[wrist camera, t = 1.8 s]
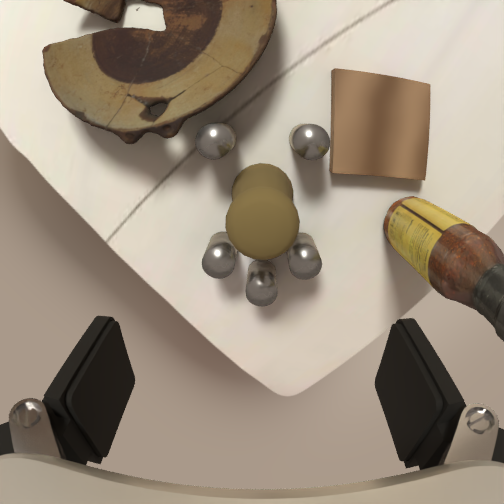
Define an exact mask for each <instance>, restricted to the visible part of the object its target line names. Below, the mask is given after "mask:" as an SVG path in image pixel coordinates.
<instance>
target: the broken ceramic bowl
mask: <svg viewBox="0 0 504 504" xmlns="http://www.w3.org/2000/svg"><path fill="white" fill-rule="evenodd" d="M64 1H65V2H68V3H70V4H72V5H75V6H79V7H80V8H83V9H84V10H88V11H90V12H92V13H96V14H98V15H100V16H101V17H103V18H105V19H108V20H110V21H113V22H116V23H118V22H119V20H120V18H121V15H122V12H123V9H124V6H125V0H64ZM143 1H145V2H149V3H155V4H158V5H161V6H162V7H163V15H164V20H165V25H166V29H165V30H164V31H152V30H149V29H141V28H140V29H139V28H133V27H132V28H115V29H109V30H104V31H99V32H96V33H92V34H87V35H84V36H81V37H79V38H72V39H68V40H65V41H63V42H58V43H53V44H49V45H48V46H46V47H44V49H43V50H42V53H43V58H44V63H43V66H44V70H45V75H46V78H47V80H48V82H49V85H50V87H51V90H52V92H53V93H54V95H55V97H56V98H57V99H58V100H59V101H60V102H61V104H62V106H63V107H65V108H66V109H67V110H68V111H69V112H70V113H72V114H73V115H75V117H77V118H79V119H81V120H82V121H84V122H87V123H89V124H91V126H95V127H98V128H101V129H104V130H106V131H110V132H113V133H114V134H116V135H118V136H119V137H120V138H121V139H122V140H123V141H124V142H125V143H127V144H134V143H136V142H137V141H138V140H139V139H140V138H141V137H142V136H143V135H144V134H145V133H148V132H152V133H156V134H158V135H160V136H162V137H164V138H167V139H168V138H171V137H174V136H175V135H177V133H178V131H179V129H180V128H181V126H182V124H183V123H184V122H185V121H186V120H187V119H188V118H190V117H192V116H195V115H197V114H198V113H200V112H202V111H204V110H206V109H207V108H209V107H211V106H212V105H214V104H215V103H216V102H218V101H219V100H221V99H222V98H224V97H225V96H226V95H227V94H228V93H230V92H231V91H232V90H233V89H234V88H235V87H236V86H237V85H238V84H239V83H240V82H241V81H242V80H243V79H244V78H245V77H246V76H247V75H248V73H249V72H250V71H251V70H252V68H253V67H254V66H255V64H256V63H257V61H258V60H259V59H260V57H261V55H262V53H263V52H264V50H265V48H266V46H267V44H268V42H269V40H270V37H271V34H272V32H273V29H274V25H275V20H276V15H277V6H276V4H277V3H276V0H143ZM138 9H139V8H138ZM138 9H136V11H138ZM159 103H166V104H168V106H167V108H166V110H165V111H164V113H163V114H162V115H160V116H159V117H157V115H152V114H151V112H150V107H151V106H154V105H156V104H159Z"/></svg>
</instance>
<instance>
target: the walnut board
mask: <svg viewBox="0 0 504 504" xmlns="http://www.w3.org/2000/svg"><path fill="white" fill-rule="evenodd" d="M429 125H430V84H427V83H422V82H418V81H413V80H408V79H403V78H398V77H393V76H387V75H381V74H375V73H368V72H361V71H353V70H345V69H336V68H335V69H333V70H332V71H331V140H330V166H329V171H331V172H332V173H341V174H358V175H372V176H385V177H397V178H407V179H417V180H425V177H426V167H427V156H428V143H429Z"/></svg>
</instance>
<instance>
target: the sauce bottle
mask: <svg viewBox="0 0 504 504" xmlns="http://www.w3.org/2000/svg"><path fill="white" fill-rule="evenodd" d="M384 230H385V234H386V237H387V239H388V241H389V243H390V244H391V245H392V246H393V248H394V249H395V250H396V251H397V252H398V253H399V254H400V255H401V256H402V257H403V258H404V259H405V260H406V261H407V262H408V263H409V264H410V265H411V266H412V267H413V268H414V269H415V270H416V271H417V272H418V273H419V274H420V275H421V276H422V277H423V278H424V279H425V280H426V281H427V282H428V283H429V284H430V285H431V286H432V287H433V288H434V289H435V290H436V291H437V292H438V293H440V294H441V295H442V296H444V297H445V298H447V299H450V300H454V301H457V302H459V303H462V304H464V305H466V306H468V307H471V308H473V309H475V310H477V311H478V312H479V313H480V314H481V315H483V316H484V317H485V318H486V319H487V320H488V321H489V322H490V323H491V324H492V325H493V327H494V328H495V330H496V333H497V335H498V336H499V337H500V338H501V339H502V340H503V341H504V254H503V253H502V251H501V249H500V248H499V247H498V246H497V244H496V243H495V242H494V241H493V240H492V239H491V238H490V237H489V236H487V235H485V234H483V233H482V232H480V231H478V230H477V229H476V228H475V227H474V226H472V225H470V224H469V223H467V222H465V221H463V220H462V219H460V218H458V217H456V216H455V215H453V214H451V213H449V212H447V211H445V210H444V209H442V208H440V207H438V206H436V205H434V204H432V203H430V202H428V201H426V200H424V199H420V198H417V197H414V196H411V197H405V198H403V199H400V200H398V201H396V202H395V203H393V205H392V206H391V207H390V208H389V210H388V212H387V215H386V217H385V221H384Z"/></svg>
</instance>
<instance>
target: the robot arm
mask: <svg viewBox="0 0 504 504" xmlns="http://www.w3.org/2000/svg"><path fill="white" fill-rule="evenodd" d="M134 384H135V376H134V373H133V370H132V367H131V364H130V360H129V357H128V354H127V350H126V347H125V344H124V340H123V337H122V333H121V329H120V325H119V323H118V322H117V321H115V320H114V318H113V317H107V316H97V317H96V318H95V319H94V320H93V322H92V323H91V324H90V326H89V327H88V329H87V330H86V332H85V333H84V335H83V336H82V337H81V339H80V340H79V342H78V343H77V345H76V346H75V348H74V349H73V351H72V352H71V354H70V355H69V357H68V358H67V360H66V361H65V363H64V364H63V366H62V368H61V369H60V371H59V372H58V374H57V375H56V377H55V378H54V380H53V382H52V383H51V385H50V386H49V388H48V390H47V391H46V393H45V394H44V399H43V400H42V402H41V401H40V400H38V399H35V398H27V399H23V400H21V401H19V402H18V403H16V404H15V405H14V406H13V408H12V409H11V411H10V413H9V422H7V423H4V424H1V425H0V504H504V430H503V429H501V428H499V420H498V417H497V415H496V413H495V412H494V410H492V409H491V408H490V407H488V406H486V405H484V404H480V403H475V404H471V405H468V406H466V404H465V402H464V399H463V398H462V396H461V394H460V392H459V390H458V389H457V387H456V385H455V384H454V382H453V380H452V378H451V377H450V375H449V373H448V372H447V370H446V368H445V366H444V365H443V363H442V361H441V360H440V358H439V357H438V355H437V353H436V352H435V350H434V349H433V347H432V345H431V344H430V342H429V341H428V339H427V338H426V336H425V334H424V333H423V331H422V330H421V328H420V327H419V325H418V324H417V322H416V320H415V319H412V318H409V319H399V320H397V321H396V324H393V325H392V326H391V330H390V334H389V337H388V340H387V343H386V347H385V350H384V353H383V357H382V360H381V363H380V366H379V369H378V372H377V375H376V378H375V388H376V391H377V394H378V397H379V400H380V402H381V405H382V408H383V411H384V414H385V417H386V420H387V423H388V426H389V429H390V432H391V435H392V438H393V441H394V445H395V448H396V451H397V454H398V457H399V460H400V461H404V463H405V466H406V468H410V467H414V466H418V465H419V468H420V470H419V471H414V472H410V473H406V474H401V475H396V476H391V477H386V478H380V479H375V480H370V481H363V482H356V483H349V484H342V485H333V486H323V487H311V488H295V489H229V488H213V487H201V486H191V485H182V484H174V483H168V482H161V481H155V480H149V479H143V478H138V477H133V476H128V475H124V474H119V473H115V472H110V471H106V470H102V469H98V468H94V467H90V466H86V464H87V461H90V462H94V463H98V464H101V461H102V459H103V457H107V455H108V453H109V450H110V448H111V445H112V442H113V439H114V437H115V434H116V431H117V429H118V426H119V423H120V421H121V418H122V415H123V413H124V410H125V408H126V405H127V402H128V400H129V398H130V395H131V392H132V390H133V387H134Z"/></svg>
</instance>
